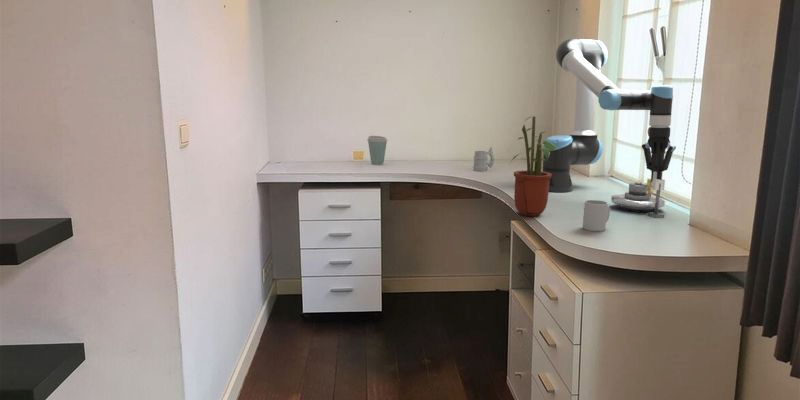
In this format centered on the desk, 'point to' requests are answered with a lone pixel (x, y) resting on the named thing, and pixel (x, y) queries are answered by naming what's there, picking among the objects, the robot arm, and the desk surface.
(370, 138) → the disposable coffee cup
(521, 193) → the potted plant
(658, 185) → the dial gauge
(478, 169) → the mug
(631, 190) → the cover
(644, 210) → the turntable base
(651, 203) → the turntable
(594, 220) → the cup
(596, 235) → the desk surface
